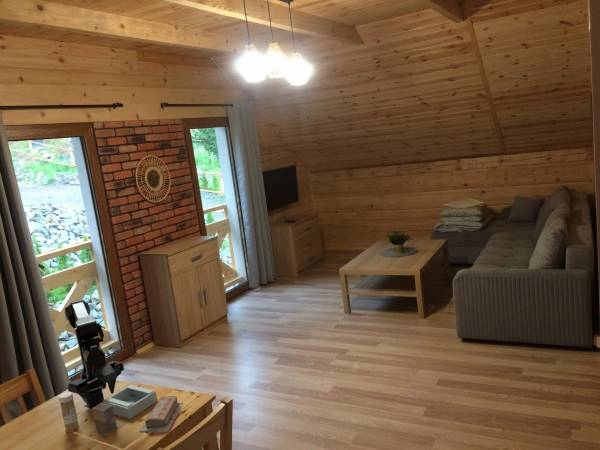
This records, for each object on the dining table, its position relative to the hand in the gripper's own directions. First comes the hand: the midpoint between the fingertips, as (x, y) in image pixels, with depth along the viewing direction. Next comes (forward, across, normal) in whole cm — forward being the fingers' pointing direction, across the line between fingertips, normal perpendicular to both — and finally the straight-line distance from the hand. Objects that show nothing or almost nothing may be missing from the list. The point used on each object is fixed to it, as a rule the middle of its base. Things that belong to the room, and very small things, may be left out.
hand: (101, 399), depth 180 cm
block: (+11, 0, 0) cm, 11 cm away
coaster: (+11, 0, 0) cm, 11 cm away
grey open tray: (+11, +14, +4) cm, 19 cm away
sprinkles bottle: (+12, -5, +13) cm, 18 cm away
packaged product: (+12, +13, -14) cm, 22 cm away
